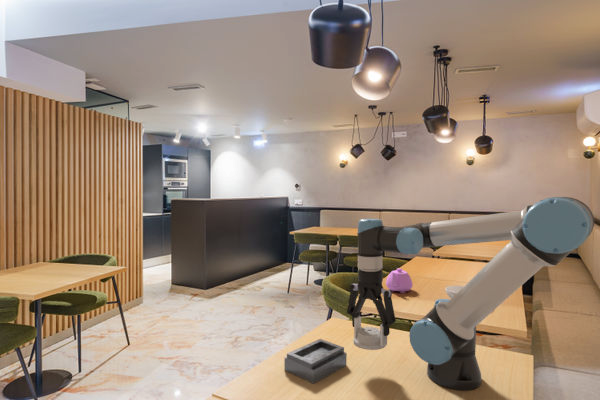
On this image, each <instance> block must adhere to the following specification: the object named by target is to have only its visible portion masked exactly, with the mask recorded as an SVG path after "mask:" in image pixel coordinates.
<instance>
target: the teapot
mask: <svg viewBox="0 0 600 400" xmlns="http://www.w3.org/2000/svg"><path fill="white" fill-rule="evenodd" d="M385 285H386V287H387V288H388V290H391V291H392V293H394V292H395V291H396V292H400V294H405V293H406V292H409V291H410V290H411V289H412V288H413V281H412V278H411V276H410V274H409V273H408V272H407V271H405V270H404V269H403V268H401V267H400V268H398V267H397V268H396V270H395V269H394V270H392V271H391V272H390V273H389V274H388V276H387V277H386V281H385Z"/></svg>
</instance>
